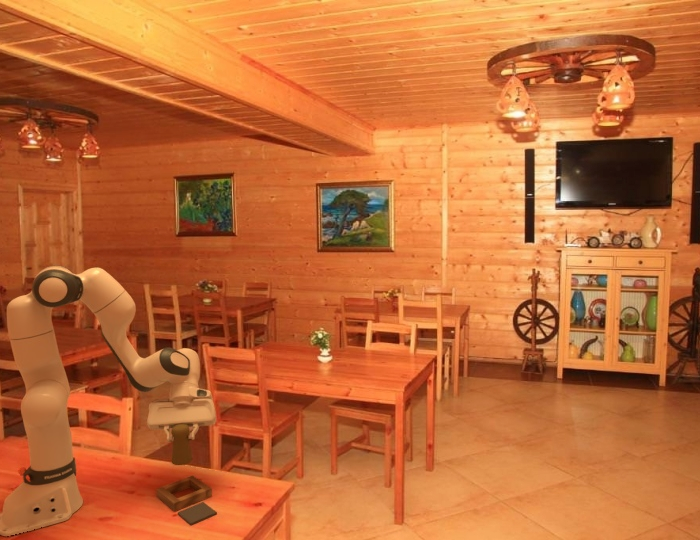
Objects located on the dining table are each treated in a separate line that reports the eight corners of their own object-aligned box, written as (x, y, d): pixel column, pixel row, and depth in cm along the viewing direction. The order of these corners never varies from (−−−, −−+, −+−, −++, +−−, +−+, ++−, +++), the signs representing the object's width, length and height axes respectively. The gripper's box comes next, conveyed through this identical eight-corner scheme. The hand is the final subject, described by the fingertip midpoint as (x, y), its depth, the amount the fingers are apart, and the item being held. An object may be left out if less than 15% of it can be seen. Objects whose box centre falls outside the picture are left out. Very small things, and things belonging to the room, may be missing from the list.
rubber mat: (190, 525, 151) (190, 523, 151) (177, 514, 157) (177, 512, 157) (216, 514, 157) (216, 512, 157) (203, 503, 163) (203, 501, 163)
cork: (184, 454, 170) (182, 420, 169) (196, 459, 166) (194, 424, 165) (167, 461, 165) (165, 426, 164) (179, 467, 162) (177, 431, 160)
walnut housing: (174, 511, 159) (174, 503, 158) (156, 496, 167) (156, 488, 167) (211, 496, 167) (211, 488, 167) (193, 482, 176) (192, 475, 175)
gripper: (147, 395, 169) (142, 438, 160) (215, 390, 172) (213, 433, 163) (151, 404, 174) (146, 447, 165) (217, 400, 177) (216, 441, 168)
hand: (180, 440), depth 164 cm, fingers closed on cork, 5 cm apart
